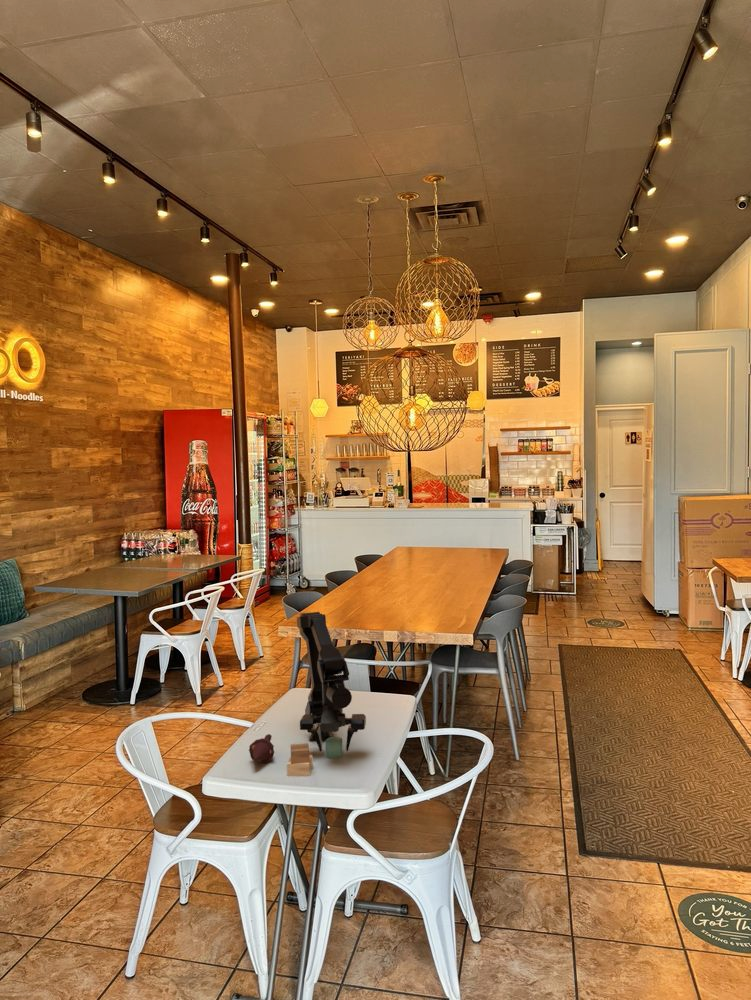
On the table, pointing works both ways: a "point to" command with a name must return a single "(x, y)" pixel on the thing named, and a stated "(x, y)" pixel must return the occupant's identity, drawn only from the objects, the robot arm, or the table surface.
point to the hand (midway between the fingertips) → (334, 750)
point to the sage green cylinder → (334, 747)
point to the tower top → (300, 753)
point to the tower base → (299, 768)
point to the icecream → (262, 750)
